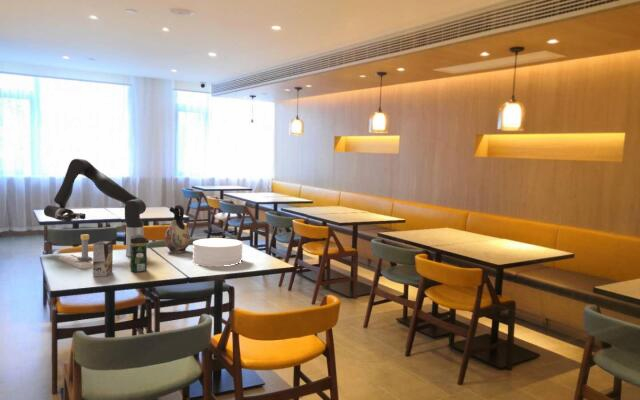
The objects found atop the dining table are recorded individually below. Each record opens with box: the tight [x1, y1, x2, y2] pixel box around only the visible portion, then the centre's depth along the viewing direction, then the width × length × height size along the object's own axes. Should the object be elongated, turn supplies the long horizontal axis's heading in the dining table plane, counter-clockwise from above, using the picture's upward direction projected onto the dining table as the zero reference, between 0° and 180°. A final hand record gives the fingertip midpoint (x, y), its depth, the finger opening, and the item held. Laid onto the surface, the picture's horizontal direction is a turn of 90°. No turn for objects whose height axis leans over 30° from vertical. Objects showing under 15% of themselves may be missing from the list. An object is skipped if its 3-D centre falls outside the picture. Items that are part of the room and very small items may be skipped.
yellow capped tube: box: [78, 233, 93, 261], centre depth 252 cm, size 4×6×14 cm
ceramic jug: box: [164, 204, 191, 254], centre depth 294 cm, size 17×15×30 cm
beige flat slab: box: [59, 253, 93, 270], centre depth 256 cm, size 28×11×2 cm, turn 48°
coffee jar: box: [129, 234, 148, 273], centre depth 245 cm, size 10×8×19 cm
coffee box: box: [92, 240, 114, 277], centre depth 234 cm, size 9×6×16 cm
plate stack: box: [192, 237, 243, 267], centre depth 274 cm, size 28×28×12 cm
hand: (75, 217), depth 261 cm, fingers open, 8 cm apart
